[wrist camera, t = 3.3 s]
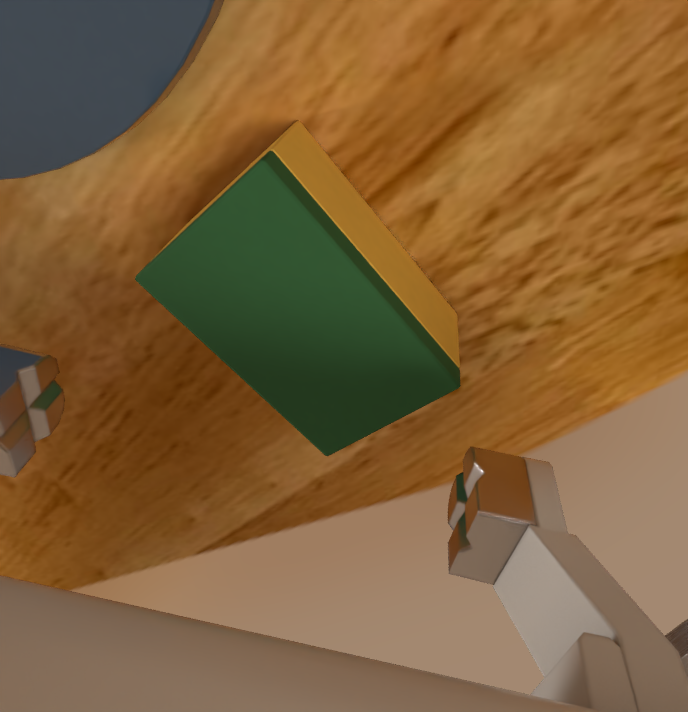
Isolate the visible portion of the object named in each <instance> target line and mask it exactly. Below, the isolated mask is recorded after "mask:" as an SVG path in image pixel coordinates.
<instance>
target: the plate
mask: <svg viewBox="0 0 688 712" xmlns="http://www.w3.org/2000/svg"><path fill="white" fill-rule="evenodd" d="M223 1H224V0H0V180H4V179H16V178H25V177H29V176H33V175H37V174H41V173H45V172H49V171H53V170H57V169H60V168H63V167H65V166H67V165H69V164H72V163H74V162H76V161H78V160H81V159H83V158H85V157H87V156H89V155H92V154H94V153H96V152H98V151H99V150H101V149H103V148H105V147H107V146H108V145H110V144H111V143H112V142H114V141H115V140H117V139H118V138H120V137H121V136H123V135H124V134H126V133H127V132H129V131H130V130H132V129H133V128H135V127H136V126H137V125H139V124H140V123H141V122H142V121H143V120H144V119H145V118H146V117H147V116H148V115H149V114H150V113H151V112H152V111H153V110H154V109H155V108H156V107H157V106H158V105H159V104H160V103H161V102H162V101H163V100H164V99H165V98H166V97H167V96H168V95H169V94H170V92H171V91H172V90H173V88H174V87H175V86H176V84H177V83H178V81H179V80H180V79H181V77H182V76H183V75H184V73H185V72H186V71H187V69H188V68H189V67H190V65H191V64H192V63H193V61H194V60H195V58H196V56H197V54H198V52H199V50H200V49H201V47H202V45H203V43H204V41H205V39H206V37H207V35H208V34H209V32H210V30H211V28H212V26H213V24H214V22H215V21H216V19H217V17H218V15H219V12H220V9H221V7H222V4H223Z"/></svg>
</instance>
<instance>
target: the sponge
mask: <svg viewBox="0 0 688 712" xmlns="http://www.w3.org/2000/svg"><path fill="white" fill-rule="evenodd" d="M135 280H136V281H137V282H138V283H139V284H140V285H141V286H142V287H143V288H144V289H146V290H147V291H148V292H149V293H150V294H151V295H152V296H153V297H154V298H155V299H156V300H157V301H159V302H160V303H161V304H162V305H163V306H164V307H165V308H166V309H167V310H168V311H169V312H170V313H172V314H173V315H174V316H175V317H176V318H177V319H178V320H179V321H180V322H181V323H182V324H183V325H185V326H186V327H187V328H188V329H189V330H190V331H191V332H192V333H193V334H194V335H195V336H196V337H198V338H199V339H200V340H201V341H202V342H203V343H204V344H205V345H206V346H207V347H208V348H209V349H211V350H212V351H213V352H214V353H215V354H216V355H217V356H218V357H219V358H220V359H221V360H222V361H224V362H225V363H226V364H227V365H228V366H229V367H230V368H231V369H232V370H233V371H234V372H235V373H237V374H238V375H239V376H240V377H241V378H242V379H243V380H244V381H245V382H246V383H247V384H248V385H250V386H251V387H252V388H253V389H254V390H255V391H256V392H257V393H258V394H259V395H260V396H261V397H263V398H264V399H265V400H266V401H267V402H268V403H269V404H270V405H271V406H272V407H273V408H274V409H276V410H277V411H278V412H279V413H280V414H281V415H282V416H283V417H284V418H285V419H286V420H287V421H289V422H290V423H291V424H292V425H293V426H294V427H295V428H296V429H297V430H298V431H299V432H300V433H302V434H303V435H304V436H305V437H306V438H307V439H308V440H309V441H310V442H311V443H312V444H313V445H315V446H316V447H317V448H318V449H319V450H320V451H321V452H322V453H323V454H324V455H325V456H329V455H331V454H333V453H335V452H337V451H339V450H341V449H343V448H345V447H346V446H348V445H350V444H352V443H354V442H356V441H358V440H360V439H362V438H364V437H366V436H368V435H369V434H371V433H373V432H375V431H377V430H379V429H381V428H383V427H385V426H387V425H389V424H391V423H393V422H394V421H396V420H398V419H400V418H402V417H404V416H406V415H408V414H410V413H412V412H414V411H416V410H418V409H419V408H421V407H423V406H425V405H427V404H429V403H431V402H433V401H435V400H437V399H439V398H441V397H443V396H444V395H446V394H448V393H450V392H452V391H454V390H456V389H458V388H459V387H460V370H459V368H460V358H459V337H458V315H457V313H456V312H455V311H454V310H453V309H452V307H451V306H450V305H449V304H448V302H447V301H446V300H445V299H444V297H443V296H442V295H441V294H440V293H439V291H438V290H437V289H436V288H435V286H434V285H433V284H432V283H431V282H430V280H429V279H428V278H427V277H426V275H425V274H424V273H423V272H422V270H421V269H420V268H419V267H418V266H417V264H416V263H415V262H414V261H413V259H412V258H411V257H410V256H409V255H408V253H407V252H406V251H405V250H404V248H403V247H402V246H401V245H400V243H399V242H398V241H397V240H396V239H395V237H394V236H393V235H392V234H391V232H390V231H389V230H388V229H387V228H386V226H385V225H384V224H383V223H382V221H381V220H380V219H379V218H378V216H377V215H376V214H375V213H374V212H373V210H372V209H371V208H370V207H369V205H368V204H367V203H366V202H365V201H364V199H363V198H362V197H361V196H360V194H359V193H358V192H357V191H356V189H355V188H354V187H353V186H352V185H351V183H350V182H349V181H348V180H347V178H346V177H345V176H344V175H343V173H342V172H341V171H340V170H339V169H338V167H337V166H336V165H335V164H334V162H333V161H332V160H331V159H330V158H329V156H328V155H327V154H326V153H325V151H324V150H323V149H322V148H321V146H320V145H319V144H318V143H317V142H316V140H315V139H314V138H313V137H312V135H311V134H310V133H309V132H308V131H307V129H306V128H305V127H304V126H303V124H302V123H301V122H300V121H299V120H298V121H296V122H295V123H294V124H293V125H292V126H291V127H290V128H288V129H287V130H286V131H285V132H284V133H283V134H282V135H281V136H280V137H279V138H278V139H277V140H276V141H275V142H274V143H272V144H271V145H270V146H269V147H268V148H267V149H266V150H265V151H264V152H263V153H262V154H261V155H260V156H259V157H258V158H256V159H255V160H254V161H253V162H252V163H251V164H250V165H249V166H248V167H247V168H246V169H245V170H244V171H243V172H242V173H240V174H239V175H238V176H237V177H236V178H235V179H234V180H233V181H232V182H231V183H230V184H229V185H228V186H227V187H226V188H224V189H223V190H222V191H221V192H220V193H219V194H218V195H217V196H216V197H215V198H214V199H213V200H212V201H211V202H210V203H208V204H207V205H206V206H205V207H204V208H203V209H202V210H201V211H200V212H199V213H198V214H197V215H196V216H195V217H194V218H192V219H191V220H190V221H189V222H188V223H187V224H186V225H185V226H184V227H183V228H182V229H181V230H180V231H179V232H178V233H177V234H176V235H175V236H174V237H173V238H172V240H171V241H170V242H169V243H168V244H167V245H166V246H165V247H164V248H163V249H162V250H161V251H160V252H159V253H158V254H157V255H156V256H155V257H154V258H153V259H152V260H151V261H150V262H149V263H148V264H147V265H146V266H145V267H144V268H143V269H142V270H141V271H140V272H139V273H138V274H137V275H136V278H135Z"/></svg>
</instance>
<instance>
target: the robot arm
mask: <svg viewBox="0 0 688 712" xmlns="http://www.w3.org/2000/svg"><path fill="white" fill-rule="evenodd" d="M59 373H60V371H59V367H58V363H57V359H56V358H54V357H52V356H50V355H47V354H43V353H39V352H35V351H31V350H26V349H22V348H18V347H14V346H10V345H6V344H0V475H6V476H11V477H16V475H17V474H18V473H19V472H20V471H21V469H22V468H23V467H24V466H25V465H26V463H27V462H28V461H29V460H30V459H31V457H32V456H33V455H34V454H35V453H36V446H35V442H36V441H38V440H40V439H43V438H45V437H47V436H49V435H50V434H51V433H52V432H53V430H54V429H55V428H56V427H57V425H58V424H59V421H60V419H61V416H62V414H63V411H64V402H65V398H64V392H63V389H62V388H61V387H60V386H59V385H58V384H57V382H56V381H55V380H54V378H55V377H56V376H57V375H58V374H59ZM448 524H449V525H450V527H451V528H452V529H453V533H452V536H451V537H450V540H449V542H448V555H449V556H448V559H449V574H452V575H456V576H460V577H464V578H469V579H472V580H476V581H480V582H484V583H489V584H493V585H494V586H493V588H494V590H495V591H496V593H497V595H498V597H499V599H500V600H501V602H502V604H503V606H504V607H505V609H506V611H507V613H508V614H509V616H510V618H511V620H512V621H513V623H514V625H515V627H516V628H517V630H518V632H519V634H520V635H521V637H522V639H523V641H524V642H525V644H526V646H527V648H528V649H529V651H530V653H531V654H532V656H533V658H534V660H535V662H536V663H537V665H538V667H539V669H540V670H541V672H542V674H543V676H544V679H543V680H542V681H541V683H540V684H539V685H538V686H537V687H536V689H535V690H534V691H533V692H532V693H531V694H530V695H529V694H524V693H520V692H515V691H511V690H506V689H502V688H497V687H493V686H489V685H484V684H480V683H475V682H471V681H467V680H462V679H458V678H453V677H449V676H444V675H440V674H435V673H431V672H427V671H422V670H418V669H413V668H409V667H404V666H400V665H396V664H391V663H387V662H382V661H378V660H373V659H369V658H364V657H360V656H356V655H351V654H347V653H342V652H338V651H333V650H329V649H325V648H320V647H316V646H311V645H307V644H302V643H298V642H294V641H289V640H285V639H280V638H276V637H271V636H267V635H262V634H258V633H254V632H249V631H245V630H240V629H236V628H231V627H226V626H223V625H218V624H214V623H209V622H205V621H200V620H196V619H191V618H187V617H183V616H178V615H173V614H169V613H165V612H160V611H156V610H152V609H147V608H143V607H138V606H134V605H129V604H125V603H120V602H116V601H112V600H107V599H103V598H98V597H94V596H89V595H85V594H80V593H76V592H72V591H67V590H63V589H58V588H54V587H49V586H45V585H41V584H36V583H32V582H27V581H23V580H18V579H14V578H10V577H5V576H1V575H0V712H688V678H687V675H686V672H685V669H684V666H683V664H682V661H681V658H680V655H679V652H678V650H677V649H676V648H675V647H674V646H673V645H672V644H671V643H670V641H669V640H668V639H667V638H666V637H665V636H664V635H663V633H662V632H661V631H660V630H659V629H658V628H657V627H656V626H655V624H654V623H653V622H652V621H651V620H650V619H649V618H648V616H647V615H646V614H645V613H644V612H643V611H642V610H641V609H640V608H639V606H638V605H637V604H636V603H635V602H634V601H633V599H632V598H631V597H630V596H629V595H628V594H627V593H626V592H625V590H623V588H622V587H621V586H620V585H619V584H618V582H617V581H616V580H615V579H614V578H613V577H612V576H611V575H610V573H609V572H608V571H607V570H606V569H605V568H604V567H603V565H602V564H601V563H600V562H599V561H598V560H597V559H596V558H595V556H594V555H593V554H592V553H591V552H590V551H589V550H588V548H587V547H586V546H585V545H584V544H583V543H582V542H581V541H580V540H579V538H578V537H577V536H576V535H573V534H569V533H568V532H567V527H566V524H565V519H564V515H563V510H562V506H561V503H560V498H559V493H558V489H557V485H556V480H555V476H554V472H553V467H552V466H551V464H550V463H549V462H546V461H541V460H535V459H531V458H526V457H522V458H521V457H519V456H514V455H510V454H505V453H500V452H495V451H491V450H486V449H481V448H476V447H471V446H470V448H469V449H468V450H467V452H466V454H465V456H464V459H463V472H462V473H460V474H459V475H457V476H456V478H455V481H454V483H453V486H452V489H451V493H450V498H449V504H448Z"/></svg>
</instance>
